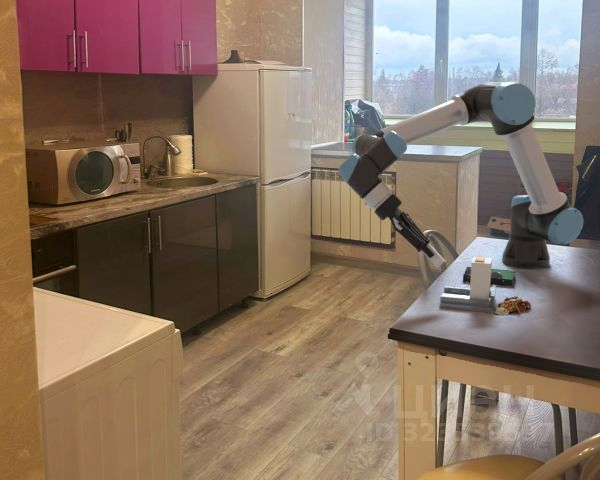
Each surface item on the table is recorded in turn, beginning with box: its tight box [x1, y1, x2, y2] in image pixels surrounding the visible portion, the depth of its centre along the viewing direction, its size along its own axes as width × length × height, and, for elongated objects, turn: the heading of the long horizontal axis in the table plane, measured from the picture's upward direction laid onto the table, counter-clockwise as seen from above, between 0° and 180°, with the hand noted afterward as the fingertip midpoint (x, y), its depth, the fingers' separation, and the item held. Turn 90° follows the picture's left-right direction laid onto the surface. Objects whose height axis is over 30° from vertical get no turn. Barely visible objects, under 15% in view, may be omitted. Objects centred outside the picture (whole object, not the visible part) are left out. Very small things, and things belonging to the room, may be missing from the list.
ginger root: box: [491, 295, 532, 316], centre depth 175 cm, size 7×12×4 cm, turn 132°
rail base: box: [439, 285, 497, 314], centre depth 180 cm, size 14×12×4 cm
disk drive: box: [462, 266, 516, 288], centre depth 201 cm, size 10×3×15 cm
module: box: [469, 256, 493, 300], centre depth 178 cm, size 5×6×11 cm
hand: (441, 264), depth 180 cm, fingers closed
